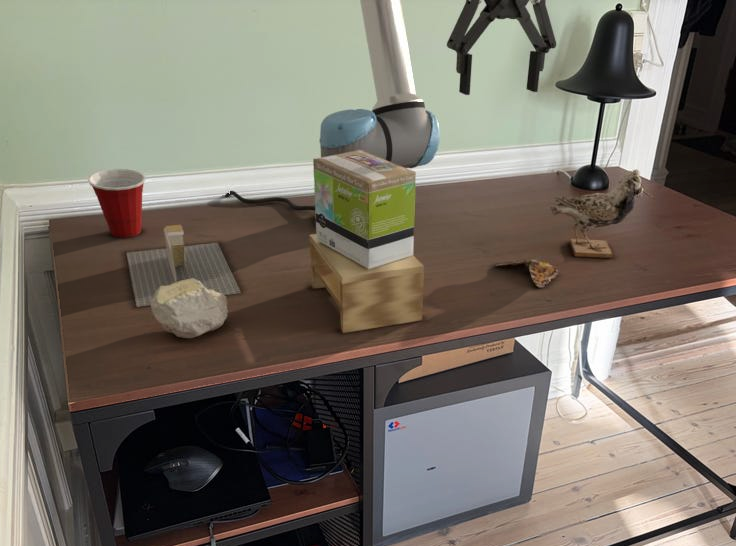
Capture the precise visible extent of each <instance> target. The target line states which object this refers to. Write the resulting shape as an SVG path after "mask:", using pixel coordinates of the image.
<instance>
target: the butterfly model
mask: <svg viewBox="0 0 736 546" xmlns="http://www.w3.org/2000/svg"><path fill="white" fill-rule="evenodd" d="M516 264H517V265H518V264H525V268H527V269H528V273H530V277H531V279H532V281H533V283H534V285H535V286H536V287H537V288H544V287H545V285H547V284H549V283H551V280H553V279H555V278H556V276H557V275H559V273H560V271H559V270H558V267H556V266H554V265H551V264H550V263H549V262H547V261H546V262H542V261H541V260H540V259H535V258H527V259H525V260H522V261H515V262H509V263H498V264H495V267H498V266H507V265H516Z"/></svg>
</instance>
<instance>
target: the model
mask: <svg viewBox="0 0 736 546" xmlns="http://www.w3.org/2000/svg"><path fill="white" fill-rule="evenodd" d="M163 235H164V241H165V248H164V249H166V255H167V262H168V265H169V268H170V271H171V275H172V278H173V280H174V281H177V280H178V279H177V272H176V267H180V266H183V267H184V266H185V261H186V260H187V257H186V249H185V246H186V245H185V242H184V236H183V235H185V232H184V228H183V226H182V224H175V225H174V224H173V225H166V226H164V228H163Z"/></svg>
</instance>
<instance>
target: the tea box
mask: <svg viewBox="0 0 736 546" xmlns="http://www.w3.org/2000/svg"><path fill="white" fill-rule="evenodd" d="M312 160H313V162H312V163H313V184H314V185H313V188H314V191H313V192H314V206H315V210H314V214H315V213H316V223H315V231H316V232H315V234H317V240H318V242H321V243H323V244H325V245H327V246H329V247H330V248H332V249H334V250H335V251H337V252H339V253H341V254H343V255H344V256H346V257H348V258H350V259H351V260H353V261H355V262H357V263H358V264H360V265H362V266H363V267H365V268H366V269H372V268H375V267H378V266H382V265H385V264H388V263H391V262H394V261H398V260H401V259H404V258H407V257H410V256H412V255H413V256H414V243H415V242H414V239H415V237H414V236H415V215H416V212H415V211H416V210H415V208H416V179H417V177H416V175H417V172H416V171H415V170H412V169H410V168H404V167H402V166H399V165H397V164H394V163H392V162H389V161H387V160H384V159H382V158H379V157H377V156H374V155H372V154H369V153H367V152H364V151H362V150H357V151H352V152H347V153H342V154H337V155H332V156H327V157H322V158H321V157H318V158H313V159H312Z"/></svg>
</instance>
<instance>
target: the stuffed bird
mask: <svg viewBox="0 0 736 546" xmlns="http://www.w3.org/2000/svg"><path fill="white" fill-rule="evenodd" d="M640 176H641V171H640V170H639V169H637V168H636V169H633V170H627V171H626V172H624V174H623V176H622V178H620V180H618V184H617V185H616V186H615V187H614V188H613V189H611V191H609V192H608V193H603V192H596V193H589V194H584V195H581V196H577V197H567V196H559V197H557V196H553V199H555V200H554V201H555V202H557V203H558V204H556V205H555V206H554V207H552V206H549V208H548V210H549V211H551V213H552V214H553V215H554V216H556V215H559V214H560V215H566V216H568V217H570V218H572V219H573V220H574V221H575V224H574V225H573V227H572V228H573V232H574V235H575V238H570V241H569V244H570V247H571V250H572V253H573V257H581V258H597V259H598V258H599V259H611V258H613V253H612V250H611V248H610V245H609V244H608V242H607V240H605V239H604V240H602V239H589V238H588V236H587V233H588V232H591V230H590V229H595V228H602V227H607V226H610V225H617V224H619V223H621V222H622V221H624V220H625V219H626V217H627V216H628V215H629V214H631V212H633V210H634V208H635V204H636V199H635V197H636V196H637V198H638V197H639V198H641V197H642V196H643V194H645V195H647V196H649V197H650V198H652V199H653V196H652V194H650V193H649V192H647V191H646V190H644V187H643V183H642V178H641V177H640ZM577 226H581V228H580V229H579V231H580V233H581V234H582V235H583V236H584V238H585V239H583V238H578V234H577V233H578V232H577Z"/></svg>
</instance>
